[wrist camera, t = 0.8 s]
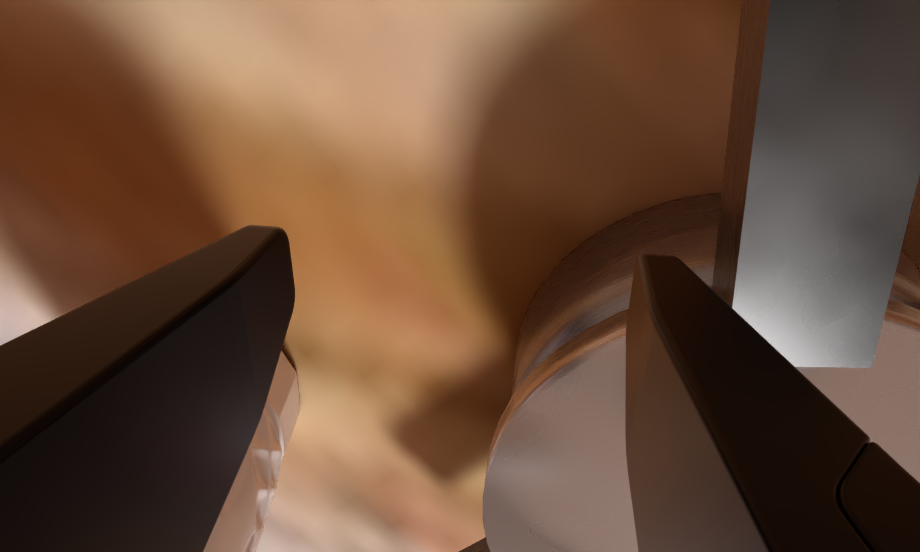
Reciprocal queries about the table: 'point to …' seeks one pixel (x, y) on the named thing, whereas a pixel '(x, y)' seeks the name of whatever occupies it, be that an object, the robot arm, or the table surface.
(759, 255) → the lid
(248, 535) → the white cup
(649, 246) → the pot
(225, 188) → the table surface
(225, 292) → the robot arm
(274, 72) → the table surface
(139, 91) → the table surface
